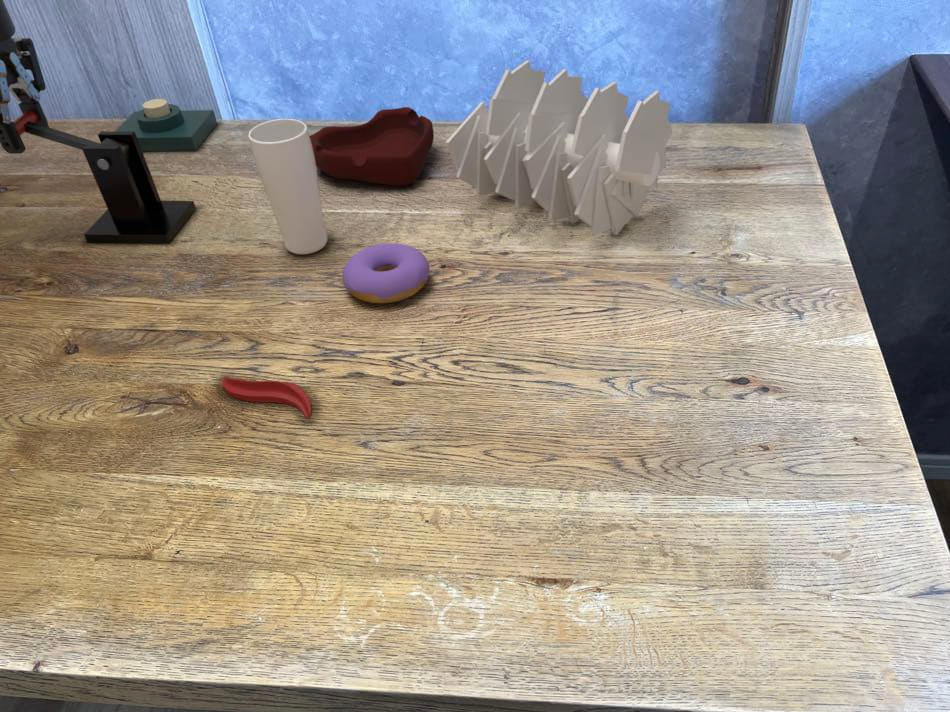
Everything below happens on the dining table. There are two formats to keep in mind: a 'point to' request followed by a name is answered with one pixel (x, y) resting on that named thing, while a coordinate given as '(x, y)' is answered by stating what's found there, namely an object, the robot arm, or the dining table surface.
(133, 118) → the control block
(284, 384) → the cayenne pepper
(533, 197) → the spiral staircase
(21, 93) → the robot arm
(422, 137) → the ashtray
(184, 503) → the dining table surface
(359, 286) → the donut
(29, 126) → the lever
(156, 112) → the button
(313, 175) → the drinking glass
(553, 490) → the dining table surface
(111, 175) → the bracket
